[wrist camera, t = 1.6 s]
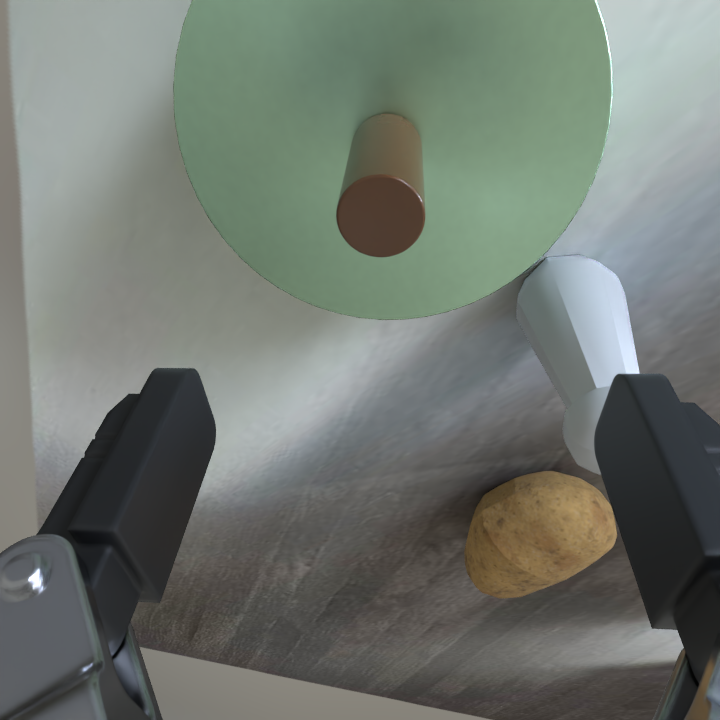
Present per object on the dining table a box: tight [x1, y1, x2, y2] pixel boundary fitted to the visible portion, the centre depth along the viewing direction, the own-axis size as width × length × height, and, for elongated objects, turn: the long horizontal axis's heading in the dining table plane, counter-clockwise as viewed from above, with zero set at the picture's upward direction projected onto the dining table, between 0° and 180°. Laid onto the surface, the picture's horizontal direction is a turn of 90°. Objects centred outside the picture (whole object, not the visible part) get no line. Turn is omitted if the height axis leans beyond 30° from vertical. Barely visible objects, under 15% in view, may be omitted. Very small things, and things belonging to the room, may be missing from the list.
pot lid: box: [173, 0, 613, 320], centre depth 18 cm, size 16×16×7 cm
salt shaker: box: [516, 255, 639, 475], centre depth 27 cm, size 6×6×13 cm
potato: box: [465, 471, 617, 598], centre depth 43 cm, size 10×14×8 cm
